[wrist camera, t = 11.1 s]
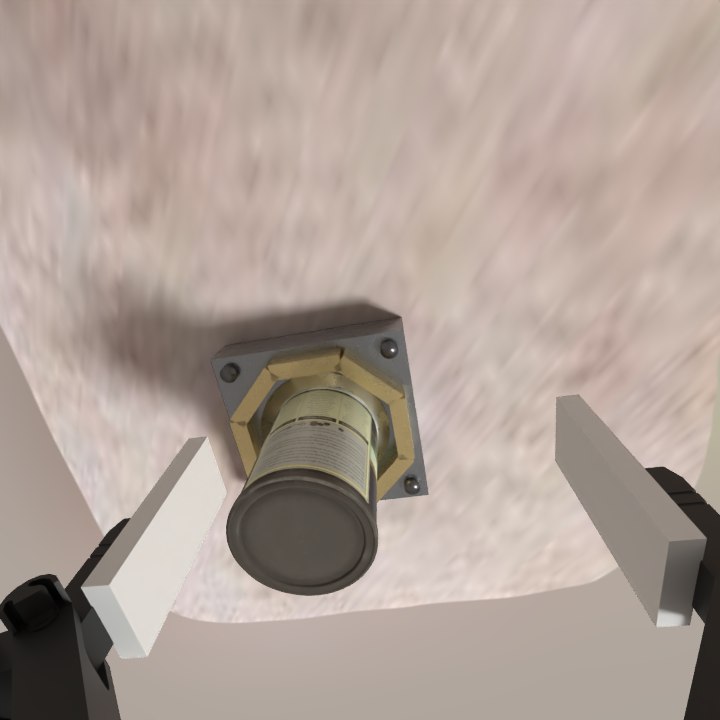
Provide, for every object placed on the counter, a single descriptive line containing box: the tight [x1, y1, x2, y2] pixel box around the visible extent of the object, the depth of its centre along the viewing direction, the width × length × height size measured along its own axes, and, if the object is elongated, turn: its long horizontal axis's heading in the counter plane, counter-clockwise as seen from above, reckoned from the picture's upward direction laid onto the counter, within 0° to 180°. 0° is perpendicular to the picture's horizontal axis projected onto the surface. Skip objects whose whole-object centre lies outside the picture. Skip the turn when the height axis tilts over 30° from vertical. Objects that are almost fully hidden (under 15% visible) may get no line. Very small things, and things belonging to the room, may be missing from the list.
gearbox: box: [210, 317, 429, 502], centre depth 44 cm, size 18×18×6 cm
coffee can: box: [226, 385, 378, 596], centre depth 36 cm, size 10×10×14 cm
